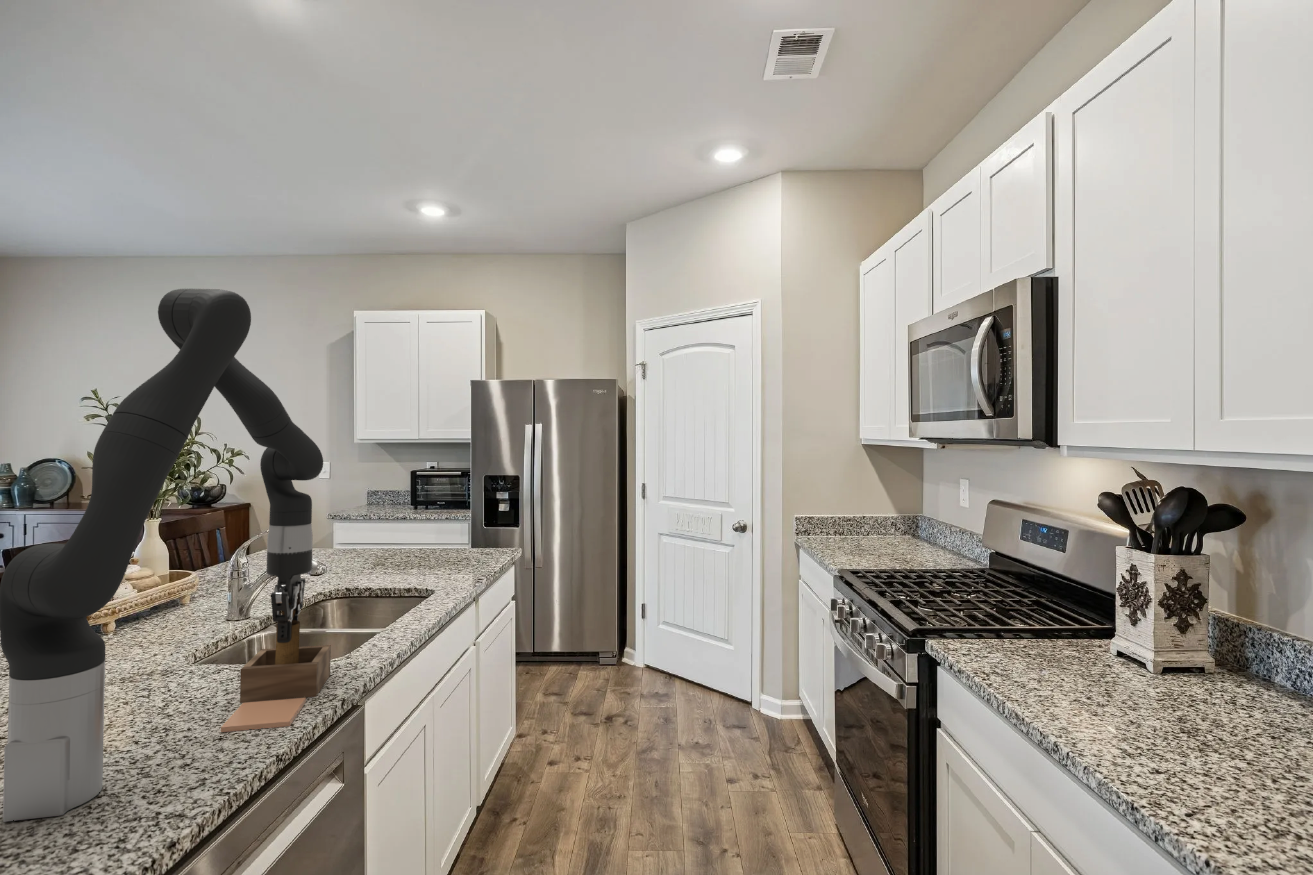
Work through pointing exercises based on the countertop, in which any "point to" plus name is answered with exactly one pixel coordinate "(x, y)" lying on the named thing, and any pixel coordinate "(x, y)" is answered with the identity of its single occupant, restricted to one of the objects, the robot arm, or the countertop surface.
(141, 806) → the countertop surface
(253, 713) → the terracotta tile
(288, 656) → the mortar and pestle
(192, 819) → the countertop surface
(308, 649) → the open wooden box
